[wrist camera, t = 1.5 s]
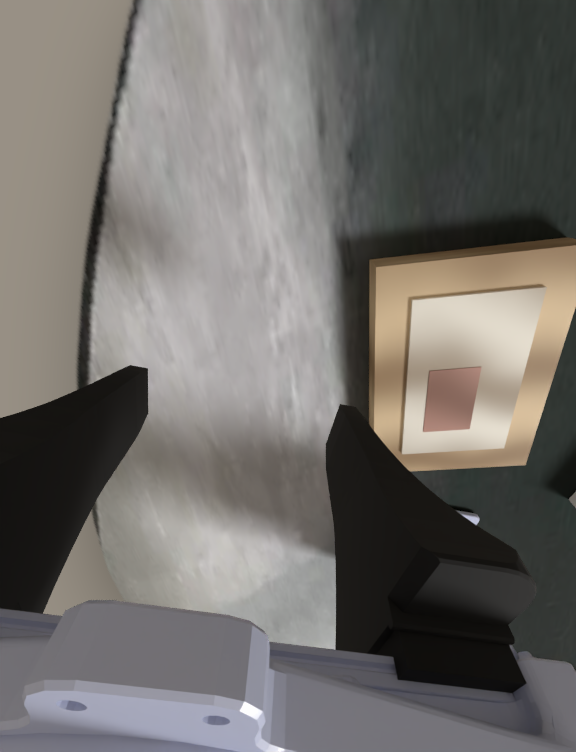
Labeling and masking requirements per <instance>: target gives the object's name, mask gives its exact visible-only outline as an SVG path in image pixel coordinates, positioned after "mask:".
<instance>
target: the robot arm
mask: <svg viewBox="0 0 576 752" xmlns="http://www.w3.org/2000/svg"><path fill="white" fill-rule="evenodd" d="M147 415H148V368H142V367H137V366H131V365H130V366H128V367H125V368H123V369H121V370H119V371H117V372H115V373H113V374H111V375H109V376H107V377H104V378H102V379H100V380H98V381H96V382H94V383H92V384H90V385H88V386H86V387H84V388H81V389H79V390H77V391H74V392H72V393H70V394H67V395H65V396H63V397H60V398H58V399H56V400H53V401H51V402H48V403H46V404H43V405H40V406H37V407H34V408H32V409H28V410H26V411H22V412H19V413H16V414H13V415H10V416H6V417H3V418H0V752H576V671H575V670H574V668H573V666H572V665H571V664H569V663H568V662H562V661H555V660H547V659H539V658H535V657H533V656H532V655H531V654H530V653H529V652H527V651H524V652H519V653H518V654H517V653H516V651H515V650H514V648H513V647H512V644H514V637H513V635H512V632H511V630H510V628H509V626H508V624H510V623H511V622H512V621H513V620H514V619H515V618H516V617H517V616H519V615H520V614H521V613H522V612H523V611H524V610H525V609H527V608H528V606H529V605H530V604H531V603H532V602H533V600H534V597H535V594H536V592H537V589H536V584H535V582H534V580H533V578H532V577H531V575H530V573H529V571H528V570H527V568H526V566H525V565H524V563H523V561H522V560H521V558H520V556H519V555H518V553H517V551H516V550H515V549H513V548H512V547H510V546H509V545H507V544H505V543H504V542H502V541H501V540H499V539H497V538H496V537H494V536H492V535H491V534H489V533H488V532H486V531H484V530H483V529H481V528H480V527H478V526H477V523H478V522H479V517H478V515H477V514H475V513H469V512H463V511H458V510H454V509H453V508H452V507H450V506H449V505H448V504H446V503H445V502H444V501H443V500H441V499H440V498H439V497H438V496H436V495H435V494H434V493H433V492H432V491H430V490H429V489H428V488H427V487H426V486H425V485H424V484H422V483H421V482H420V481H419V480H418V479H417V478H416V477H415V476H414V475H413V474H412V473H411V472H410V471H409V470H408V469H407V468H406V467H405V466H404V465H403V464H402V463H401V462H400V461H399V460H398V459H397V458H396V457H395V455H394V454H393V453H392V452H391V451H390V450H389V449H388V448H387V446H386V445H385V444H384V443H383V442H382V440H381V439H380V438H379V437H378V435H377V434H376V433H375V432H374V430H373V429H372V428H371V426H370V425H369V424H368V422H367V421H366V420H365V418H364V417H363V416H362V415H361V413H360V412H359V411H358V409H357V408H356V407H352V406H347V405H341V404H340V406H339V409H338V412H337V414H336V417H335V420H334V423H333V426H332V429H331V432H330V434H329V437H328V440H327V443H326V471H327V479H328V486H329V493H330V500H331V507H332V514H333V521H334V532H335V555H336V650H332V649H324V648H316V647H308V646H300V645H292V644H284V643H276V642H269V640H268V636H267V634H266V633H265V632H264V631H263V630H262V629H260V628H259V627H258V626H256V625H255V624H253V623H252V622H251V621H248V620H245V619H241V618H237V617H233V616H230V615H224V614H216V613H208V612H200V611H193V610H185V609H177V608H169V607H162V606H154V605H146V604H138V603H131V602H123V601H114V600H89V601H86V602H84V603H81V604H79V605H76V606H74V607H72V608H70V609H68V610H66V611H65V612H64V614H63V616H57V615H49V614H43V612H44V609H45V607H46V604H47V602H48V600H49V597H50V595H51V593H52V590H53V588H54V586H55V584H56V582H57V579H58V577H59V575H60V573H61V571H62V569H63V566H64V564H65V562H66V560H67V558H68V556H69V554H70V551H71V549H72V547H73V545H74V543H75V541H76V539H77V537H78V535H79V533H80V531H81V529H82V527H83V525H84V523H85V521H86V519H87V517H88V515H89V513H90V511H91V509H92V507H93V505H94V504H95V502H96V500H97V498H98V496H99V494H100V493H101V491H102V489H103V488H104V486H105V485H106V483H107V482H108V480H109V478H110V477H111V475H112V474H113V472H114V471H115V469H116V468H117V466H118V465H119V463H120V462H121V460H122V459H123V457H124V456H125V454H126V453H127V451H128V450H129V448H130V447H131V445H132V444H133V442H134V441H135V439H136V437H137V436H138V434H139V432H140V430H141V428H142V426H143V423H144V421H145V419H146V417H147Z"/></svg>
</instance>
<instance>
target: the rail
mask: <svg viewBox="0 0 576 752" xmlns="http://www.w3.org/2000/svg"><path fill="white" fill-rule="evenodd" d="M569 501H570V502H571V503H572V504H573V505H574V506H575V508H576V492H575V493H574V494H573V495H572V496H571V497H570V498H569Z"/></svg>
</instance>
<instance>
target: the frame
mask: <svg viewBox="0 0 576 752" xmlns="http://www.w3.org/2000/svg"><path fill="white" fill-rule="evenodd" d="M575 307H576V239H573V238H567V237H566V238H557V239H548V240H539V241H530V242H521V243H513V244H504V245H495V246H486V247H477V248H468V249H459V250H450V251H441V252H432V253H424V254H415V255H406V256H397V257H388V258H379V259H370V260H369V425H370V426H371V428H372V429H373V430H374V432H375V433H376V434H377V435H378V437H379V438H380V439H381V440H382V442H383V443H384V444H385V445H386V446H387V448H388V449H389V450H390V451H391V452H392V453H393V454H394V455H395V457H396V458H397V459H398V460H399V461H400V462H401V463H402V464H403V465H404V466H405V467H406V468H407V469H408V470H409V471H425V470H444V469H462V468H480V467H498V466H517V465H526V462H527V459H528V455H529V452H530V449H531V446H532V443H533V440H534V436H535V433H536V430H537V427H538V424H539V421H540V418H541V414H542V411H543V408H544V405H545V402H546V399H547V395H548V392H549V389H550V386H551V383H552V380H553V377H554V373H555V370H556V367H557V364H558V361H559V358H560V354H561V351H562V348H563V345H564V342H565V339H566V336H567V332H568V329H569V326H570V323H571V320H572V317H573V313H574V310H575Z"/></svg>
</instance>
